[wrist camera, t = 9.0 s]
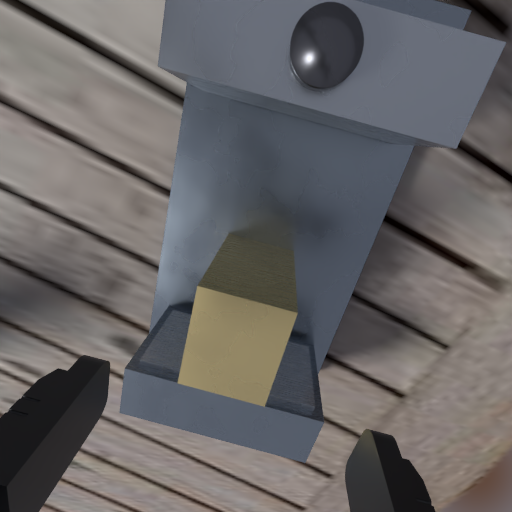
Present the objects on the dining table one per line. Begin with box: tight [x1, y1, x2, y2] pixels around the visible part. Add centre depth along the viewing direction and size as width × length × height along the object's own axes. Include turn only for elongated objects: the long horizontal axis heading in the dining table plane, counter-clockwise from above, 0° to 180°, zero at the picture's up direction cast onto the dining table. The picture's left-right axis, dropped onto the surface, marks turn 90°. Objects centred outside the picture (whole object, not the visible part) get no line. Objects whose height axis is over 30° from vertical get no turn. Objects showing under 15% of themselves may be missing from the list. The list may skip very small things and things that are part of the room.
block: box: [178, 234, 298, 407], centre depth 16 cm, size 5×4×7 cm
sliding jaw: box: [158, 0, 506, 149], centre depth 12 cm, size 3×10×7 cm, turn 75°
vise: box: [120, 0, 471, 463], centre depth 16 cm, size 22×12×7 cm, turn 165°
